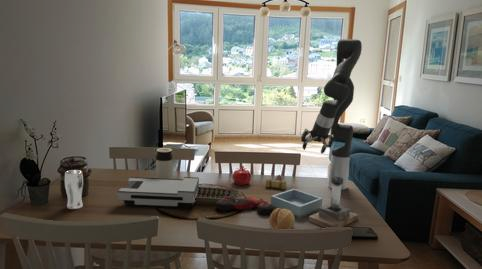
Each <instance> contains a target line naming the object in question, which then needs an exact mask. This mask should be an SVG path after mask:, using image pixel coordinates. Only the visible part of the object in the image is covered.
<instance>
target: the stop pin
mask: <svg viewBox="0 0 482 269" xmlns="http://www.w3.org/2000/svg"><path fill="white" fill-rule="evenodd" d="M343 181H344V179H343V178H341V177H332V178H331V182H332V183H333V184H332V188H331V194H330V195H331V196H330V203H331V204H330V203H329V204H330V210H333V211H335V212H337V211H339V206H341V205H340V203H341V193H342V190H341V185H342V184H343Z"/></svg>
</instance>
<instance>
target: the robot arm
mask: <svg viewBox="0 0 482 269" xmlns="http://www.w3.org/2000/svg"><path fill="white" fill-rule="evenodd" d="M362 46H363V45H362V41H361V40H359V39H355V38H354V39H353V38H352V39H350V38H348V39H347V38H341V39H339V40H338V41H337V45H336V64H335V65H336V67H335V69H334V72H333V76H332V77H331V78H330V79H329V80H328V81H327V82H326V84H325V85H324V87H323V93H324V96H326V97H329V98H330V99H326V100H324V101H323V103H322V105H321V107H320V110H319V113H318V114H317V116H316V120H315V121H314V123H313V126H312V129H310V130H309V129H308V128H305V129H304V130H303V133H301V137H300V140H301V142H303V144H302V150H304V151H306V148H307V145H308V143H311V142H318V143H322V147H321V149H320V154H324V153H325V152H326V150H327V149H328V148H329V149H330V148H332V146H333V143H334V142H335V143H342V144H344V145H342V146H338V147H334V148H333V149H332V150H331V155H330V156H331V158H330V168H329V178H328V179H329V180H328V187H329V189H332V184H333V183H332V182H331V178H332V177H341V178H343V179H344V181H343V184H342V185H341V191H345V190H347V188H348V185H349V184H348V182H349V173H350V169H349V168H350V161H351V160H350V159H351V150H352V149H351V148H352V143H353V142H352V140H353V138H354V136H353V134H354V127H353V126H352V125H351V124H350V125H349V124H341V123H340V122H339V121H340V119H341V117H342V115H343V114H344V113H345V111H346V110H347V109H348V108H349V106H350V105H351V104H352V102H354V101H353V100H354V95H355V94H354V93H355V85H354V82H353V81H352V79H351V74H352V72H353V69H354V68H355V67H356V64H358V61H359V59H360V57H361V54H362V50H363V49H362V48H363V47H362ZM331 99H332V100H331ZM329 133H330V134H329ZM327 140H328V142H327Z"/></svg>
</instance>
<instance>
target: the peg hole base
mask: <svg viewBox="0 0 482 269" xmlns="http://www.w3.org/2000/svg"><path fill="white" fill-rule="evenodd" d="M330 204H331V202H330V203H328V204H325V205H322V207H320V208H319V210H318V211H317V212H315V213H312V215H311V214H310V215H309V216H308V221H309V222H311V223H313V224H316V225H318V226H321V227H323V228H326V229H328V228H327V227H341V228H342V227H345V226H347V225H348V224H351V223H353V222H355V221H357V220H358V218H359V214H357V213H355V212H352V211H351V209H350V208H347V207H344V206H341V205H339V211H337V212H335V211H333V210H330Z"/></svg>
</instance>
